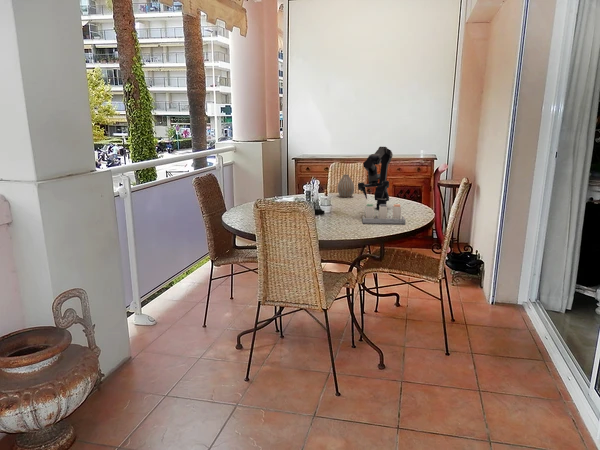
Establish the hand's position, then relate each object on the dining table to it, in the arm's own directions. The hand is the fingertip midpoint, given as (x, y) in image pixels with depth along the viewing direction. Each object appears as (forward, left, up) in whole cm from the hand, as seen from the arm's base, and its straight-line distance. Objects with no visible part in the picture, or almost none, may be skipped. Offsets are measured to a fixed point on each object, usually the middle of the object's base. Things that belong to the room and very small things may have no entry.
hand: (374, 198), depth 264 cm
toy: (+26, -41, -14) cm, 50 cm away
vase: (-41, -67, -13) cm, 80 cm away
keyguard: (+2, +9, -12) cm, 15 cm away
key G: (+5, +1, -13) cm, 14 cm away
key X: (-1, +7, -13) cm, 15 cm away
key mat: (+1, +8, -13) cm, 15 cm away
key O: (-6, +12, -13) cm, 19 cm away
